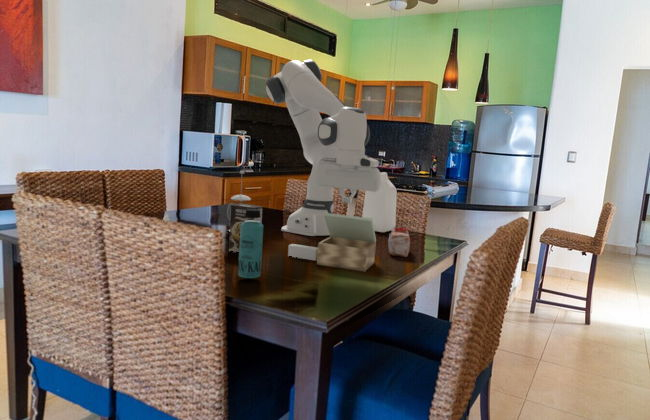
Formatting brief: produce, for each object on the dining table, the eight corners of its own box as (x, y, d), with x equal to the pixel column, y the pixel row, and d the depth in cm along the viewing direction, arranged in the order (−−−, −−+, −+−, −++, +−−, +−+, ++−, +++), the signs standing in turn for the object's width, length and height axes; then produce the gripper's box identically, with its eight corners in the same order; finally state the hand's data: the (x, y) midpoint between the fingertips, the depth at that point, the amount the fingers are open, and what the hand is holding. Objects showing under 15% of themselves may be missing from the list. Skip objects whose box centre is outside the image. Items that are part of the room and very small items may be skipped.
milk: (373, 225, 242) (378, 171, 238) (395, 229, 235) (400, 173, 231) (360, 228, 232) (364, 171, 228) (382, 232, 226) (387, 174, 222)
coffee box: (228, 251, 171) (229, 204, 169) (237, 248, 177) (239, 202, 175) (252, 255, 168) (254, 207, 166) (260, 251, 174) (263, 205, 172)
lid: (323, 215, 163) (324, 212, 164) (331, 238, 173) (331, 236, 174) (371, 220, 158) (372, 218, 159) (375, 244, 168) (376, 242, 169)
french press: (256, 232, 207) (259, 171, 203) (237, 236, 197) (239, 172, 193) (238, 228, 212) (241, 169, 208) (218, 232, 202) (221, 169, 199)
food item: (410, 258, 179) (412, 231, 177) (387, 256, 179) (389, 229, 178) (407, 250, 192) (409, 224, 191) (386, 248, 193) (388, 223, 192)
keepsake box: (316, 264, 162) (318, 242, 161) (328, 256, 173) (330, 236, 172) (364, 271, 157) (366, 249, 156) (374, 263, 168) (375, 242, 167)
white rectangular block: (287, 256, 170) (288, 245, 170) (291, 255, 173) (292, 243, 173) (315, 261, 167) (316, 249, 166) (318, 259, 170) (319, 247, 169)
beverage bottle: (238, 276, 143) (241, 206, 140) (261, 277, 143) (265, 207, 141) (236, 283, 136) (239, 210, 134) (260, 284, 137) (264, 211, 134)
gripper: (315, 157, 159) (312, 200, 161) (378, 162, 152) (375, 207, 154) (322, 156, 165) (319, 198, 167) (383, 161, 158) (380, 205, 160)
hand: (346, 203), depth 161 cm, fingers closed
